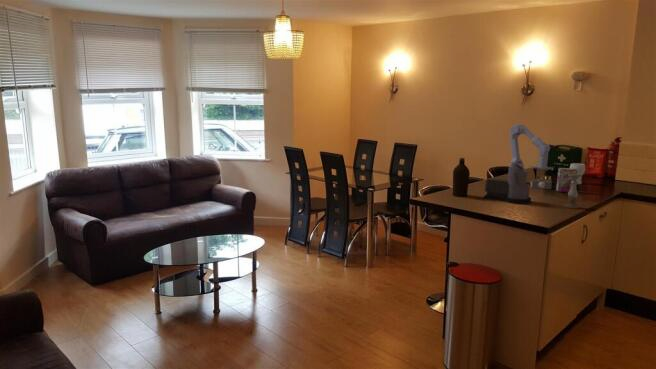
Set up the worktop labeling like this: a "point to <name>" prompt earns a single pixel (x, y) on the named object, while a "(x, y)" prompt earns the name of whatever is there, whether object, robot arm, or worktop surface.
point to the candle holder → (573, 192)
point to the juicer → (509, 187)
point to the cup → (578, 170)
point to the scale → (541, 184)
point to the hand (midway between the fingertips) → (541, 179)
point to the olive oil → (460, 179)
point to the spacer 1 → (541, 178)
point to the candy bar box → (564, 179)
